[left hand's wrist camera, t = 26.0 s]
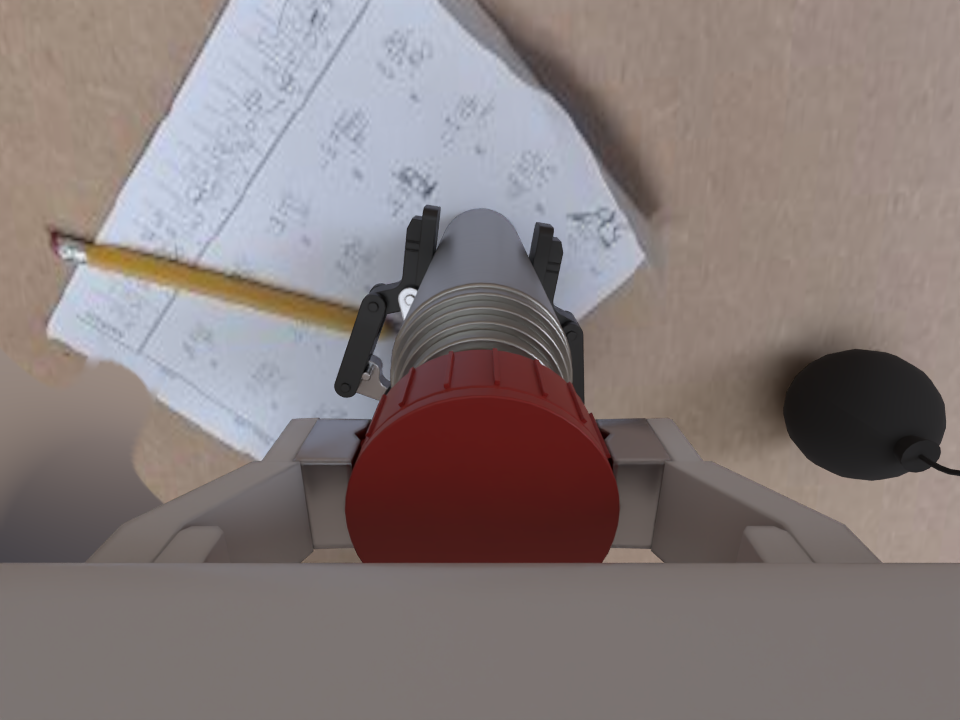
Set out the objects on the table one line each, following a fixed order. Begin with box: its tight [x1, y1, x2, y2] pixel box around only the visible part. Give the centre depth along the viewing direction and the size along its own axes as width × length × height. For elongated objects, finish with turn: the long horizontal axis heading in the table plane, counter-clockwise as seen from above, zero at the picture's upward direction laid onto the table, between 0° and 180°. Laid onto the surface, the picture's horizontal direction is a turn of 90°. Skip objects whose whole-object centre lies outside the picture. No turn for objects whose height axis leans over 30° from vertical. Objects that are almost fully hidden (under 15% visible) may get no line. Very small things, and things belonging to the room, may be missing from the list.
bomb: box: [784, 349, 960, 481], centre depth 29 cm, size 8×8×12 cm
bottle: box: [390, 209, 573, 388], centre depth 20 cm, size 5×5×24 cm
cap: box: [345, 348, 620, 563], centre depth 9 cm, size 4×4×2 cm
